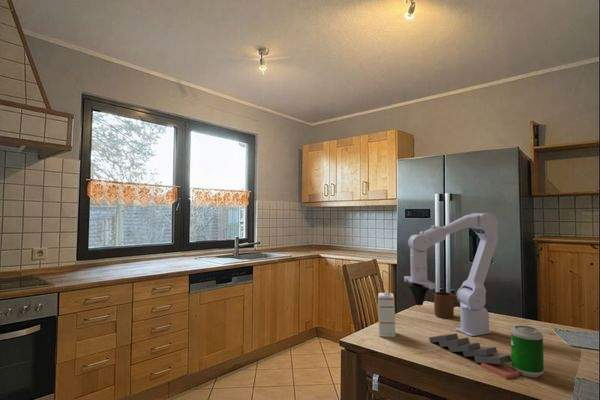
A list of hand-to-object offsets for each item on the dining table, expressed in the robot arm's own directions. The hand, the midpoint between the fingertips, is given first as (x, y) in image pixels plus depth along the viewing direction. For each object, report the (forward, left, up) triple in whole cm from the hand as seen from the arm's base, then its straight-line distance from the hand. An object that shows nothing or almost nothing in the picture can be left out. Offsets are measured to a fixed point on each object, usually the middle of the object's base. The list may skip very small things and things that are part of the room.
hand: (419, 304), depth 130 cm
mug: (-26, -12, -11) cm, 30 cm away
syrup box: (+11, -4, -11) cm, 16 cm away
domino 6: (0, +29, -10) cm, 30 cm away
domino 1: (0, +8, -10) cm, 12 cm away
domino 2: (0, +12, -10) cm, 16 cm away
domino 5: (-1, +26, -10) cm, 27 cm away
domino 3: (0, +16, -10) cm, 19 cm away
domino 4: (-1, +21, -10) cm, 23 cm away
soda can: (-7, +36, -11) cm, 38 cm away
